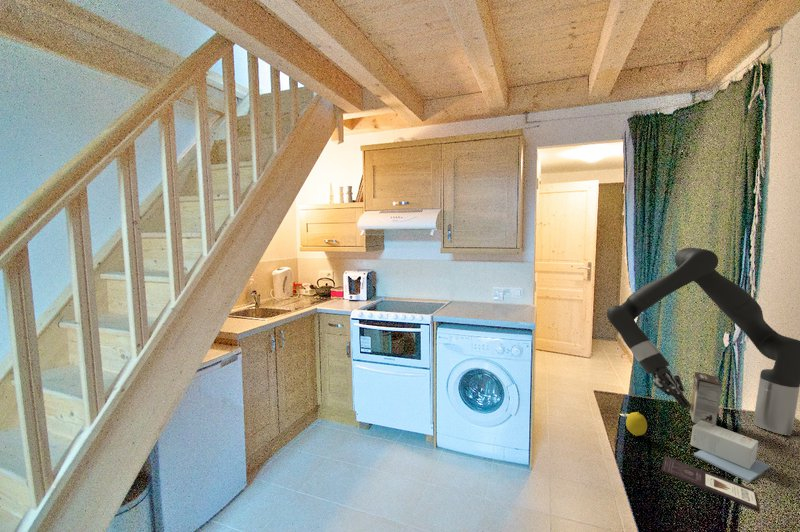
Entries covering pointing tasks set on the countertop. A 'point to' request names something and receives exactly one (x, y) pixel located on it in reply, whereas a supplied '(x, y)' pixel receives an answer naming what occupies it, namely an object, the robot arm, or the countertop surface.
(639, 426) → the lemon
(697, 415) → the coffee box
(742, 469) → the flat blue-gray panel
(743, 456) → the small box
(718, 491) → the chocolate bar
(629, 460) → the countertop surface
